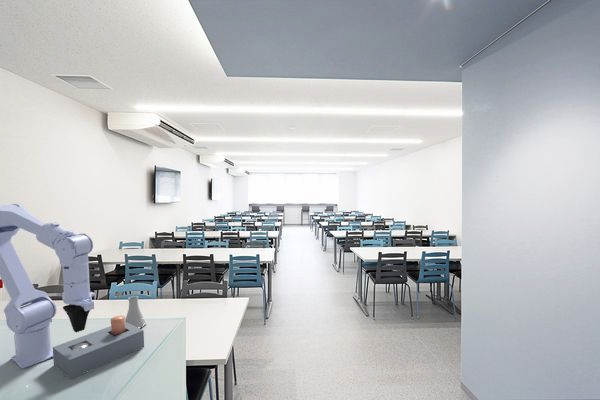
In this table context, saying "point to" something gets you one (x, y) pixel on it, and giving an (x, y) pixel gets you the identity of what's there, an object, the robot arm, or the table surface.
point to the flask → (134, 313)
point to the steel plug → (80, 347)
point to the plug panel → (96, 350)
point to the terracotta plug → (117, 325)
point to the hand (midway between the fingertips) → (79, 330)
